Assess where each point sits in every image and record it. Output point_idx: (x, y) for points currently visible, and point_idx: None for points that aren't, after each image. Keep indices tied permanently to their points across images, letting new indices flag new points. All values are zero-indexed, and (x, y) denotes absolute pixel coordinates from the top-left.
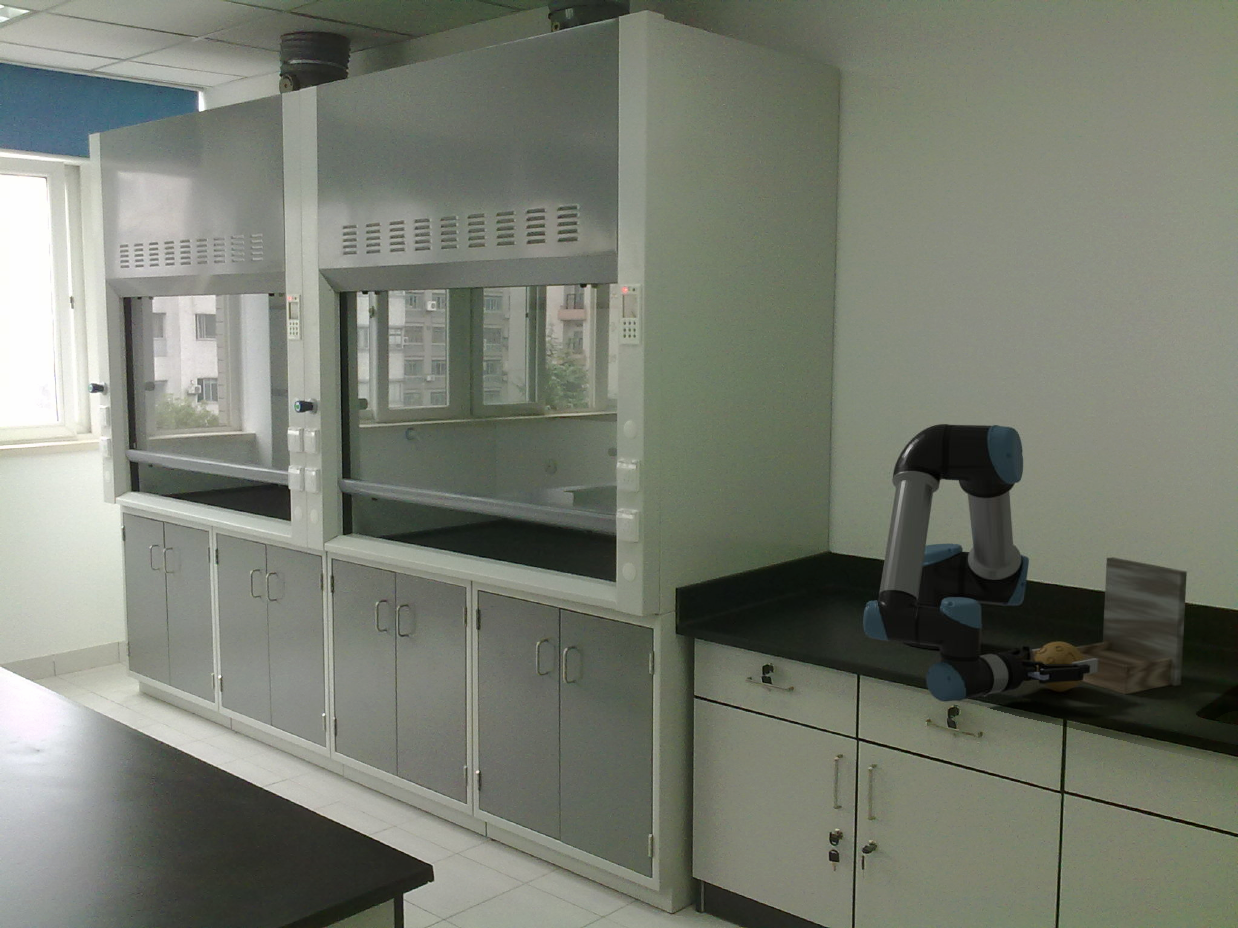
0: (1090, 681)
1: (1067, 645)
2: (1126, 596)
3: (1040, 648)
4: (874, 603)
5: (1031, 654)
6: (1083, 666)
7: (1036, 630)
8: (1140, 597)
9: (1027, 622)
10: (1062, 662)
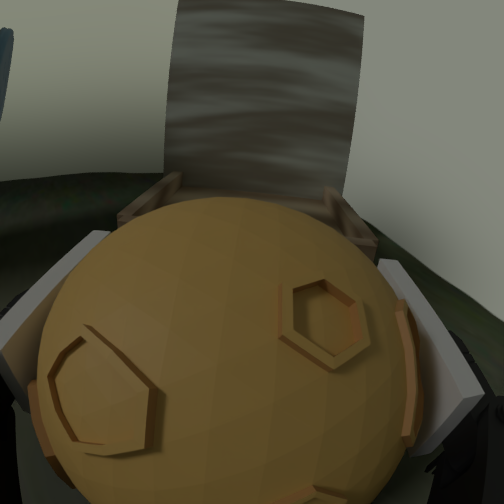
0: None
1: (326, 232)
2: (226, 63)
3: (41, 282)
4: None
5: (4, 373)
6: (471, 369)
7: (33, 187)
8: (264, 62)
9: (23, 180)
10: (398, 450)
